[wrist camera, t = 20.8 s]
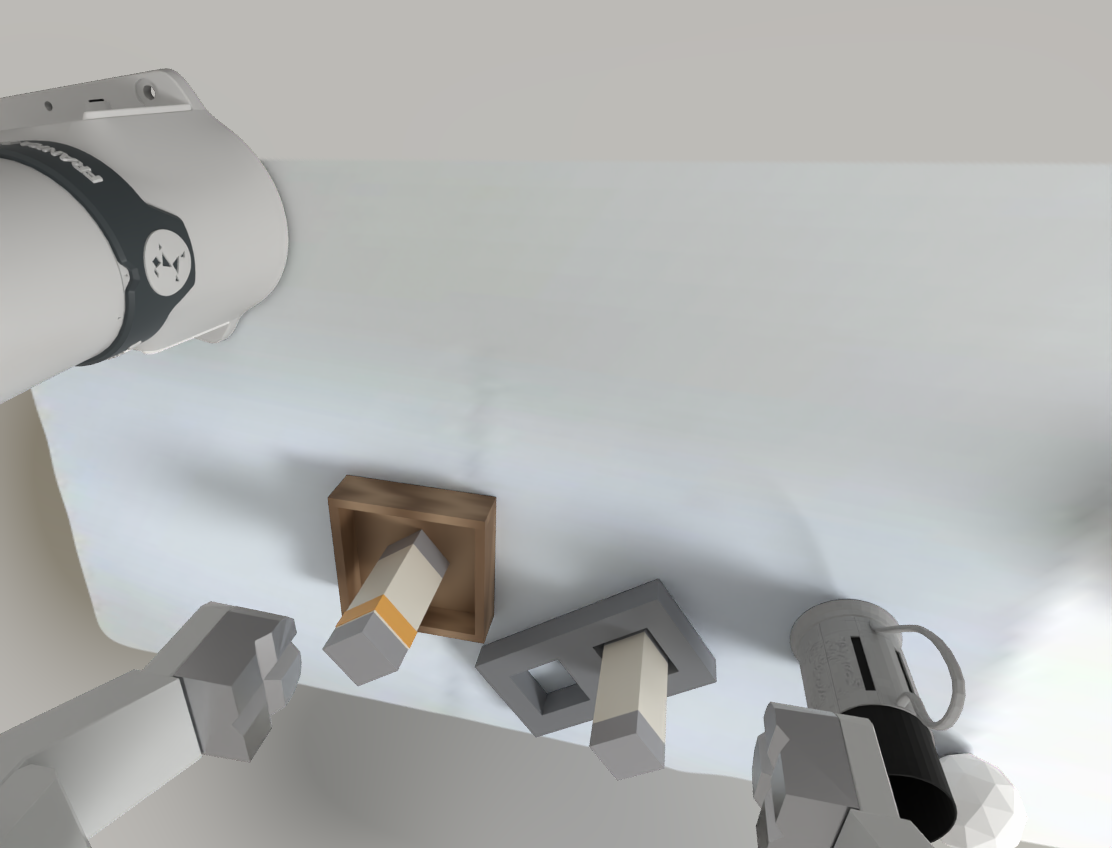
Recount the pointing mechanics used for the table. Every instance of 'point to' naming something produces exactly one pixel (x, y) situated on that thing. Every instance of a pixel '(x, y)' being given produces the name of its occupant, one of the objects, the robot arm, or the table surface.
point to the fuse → (631, 706)
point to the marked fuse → (387, 610)
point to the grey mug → (881, 699)
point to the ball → (982, 804)
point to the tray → (450, 523)
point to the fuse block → (591, 656)
